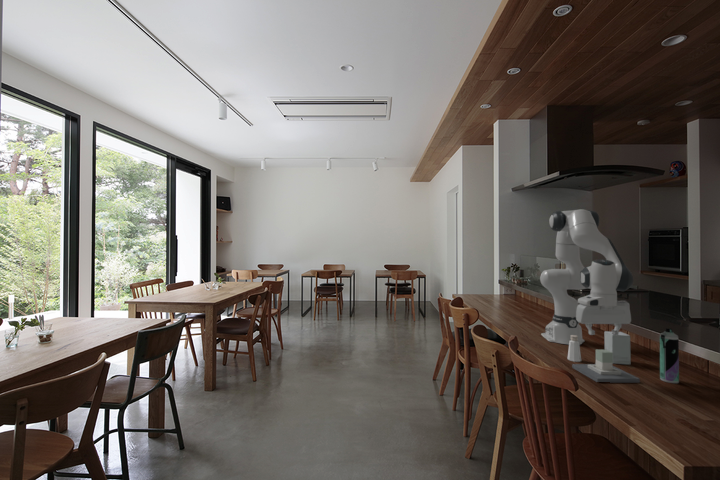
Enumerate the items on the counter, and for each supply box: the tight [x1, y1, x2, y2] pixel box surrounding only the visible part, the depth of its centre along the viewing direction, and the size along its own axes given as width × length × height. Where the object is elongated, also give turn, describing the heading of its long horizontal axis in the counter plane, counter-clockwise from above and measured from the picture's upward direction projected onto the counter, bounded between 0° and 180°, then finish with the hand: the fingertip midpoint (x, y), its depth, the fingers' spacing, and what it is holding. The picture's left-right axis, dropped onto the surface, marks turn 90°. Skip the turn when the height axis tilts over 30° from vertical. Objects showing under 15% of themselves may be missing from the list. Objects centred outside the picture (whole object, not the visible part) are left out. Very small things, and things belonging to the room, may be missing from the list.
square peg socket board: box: [571, 363, 641, 384], centre depth 142 cm, size 16×16×3 cm
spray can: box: [659, 327, 680, 384], centre depth 136 cm, size 6×6×20 cm
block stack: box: [595, 349, 614, 371], centre depth 142 cm, size 4×4×8 cm
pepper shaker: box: [567, 335, 582, 363], centre depth 160 cm, size 5×5×11 cm
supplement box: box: [604, 331, 632, 366], centre depth 158 cm, size 7×7×13 cm
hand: (603, 334), depth 142 cm, fingers open, 8 cm apart
